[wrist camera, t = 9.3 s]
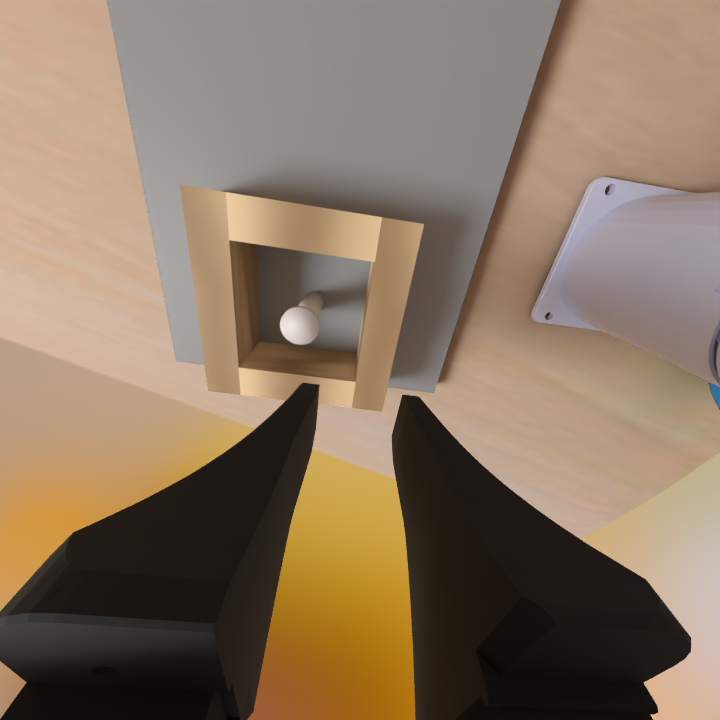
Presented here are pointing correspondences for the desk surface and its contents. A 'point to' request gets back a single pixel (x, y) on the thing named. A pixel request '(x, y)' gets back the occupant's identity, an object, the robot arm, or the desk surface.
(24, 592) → the robot arm
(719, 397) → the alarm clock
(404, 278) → the oak frame
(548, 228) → the desk surface
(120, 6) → the slate board
